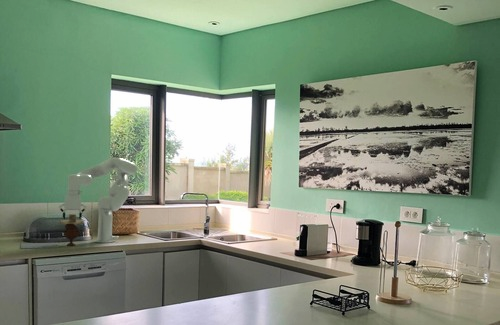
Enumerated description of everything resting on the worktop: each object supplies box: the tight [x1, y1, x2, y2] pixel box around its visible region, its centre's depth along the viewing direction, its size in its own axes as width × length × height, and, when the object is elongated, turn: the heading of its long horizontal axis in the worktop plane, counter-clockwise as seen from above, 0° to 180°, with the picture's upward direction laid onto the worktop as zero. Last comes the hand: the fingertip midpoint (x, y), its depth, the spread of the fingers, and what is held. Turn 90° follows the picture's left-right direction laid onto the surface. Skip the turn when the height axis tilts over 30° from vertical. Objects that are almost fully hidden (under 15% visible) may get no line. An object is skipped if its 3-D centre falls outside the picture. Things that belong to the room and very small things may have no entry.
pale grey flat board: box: [20, 242, 60, 250], centre depth 322 cm, size 22×18×1 cm
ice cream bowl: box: [62, 224, 81, 247], centre depth 329 cm, size 11×11×15 cm
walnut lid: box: [60, 213, 85, 225], centre depth 329 cm, size 14×14×5 cm
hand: (72, 218), depth 329 cm, fingers open, 9 cm apart
